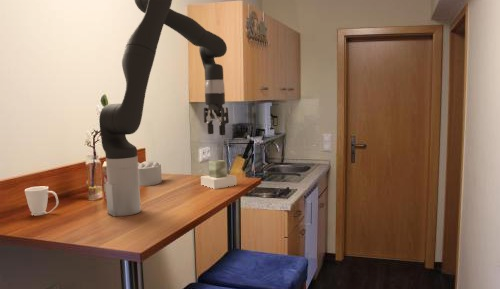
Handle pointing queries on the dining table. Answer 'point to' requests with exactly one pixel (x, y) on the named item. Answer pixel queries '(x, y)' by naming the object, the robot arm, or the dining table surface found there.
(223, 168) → the sage block
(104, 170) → the stack of blocks
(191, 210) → the dining table surface
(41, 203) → the cup
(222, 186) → the base block
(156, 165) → the lumpy-topped squat cylinder
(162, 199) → the dining table surface
